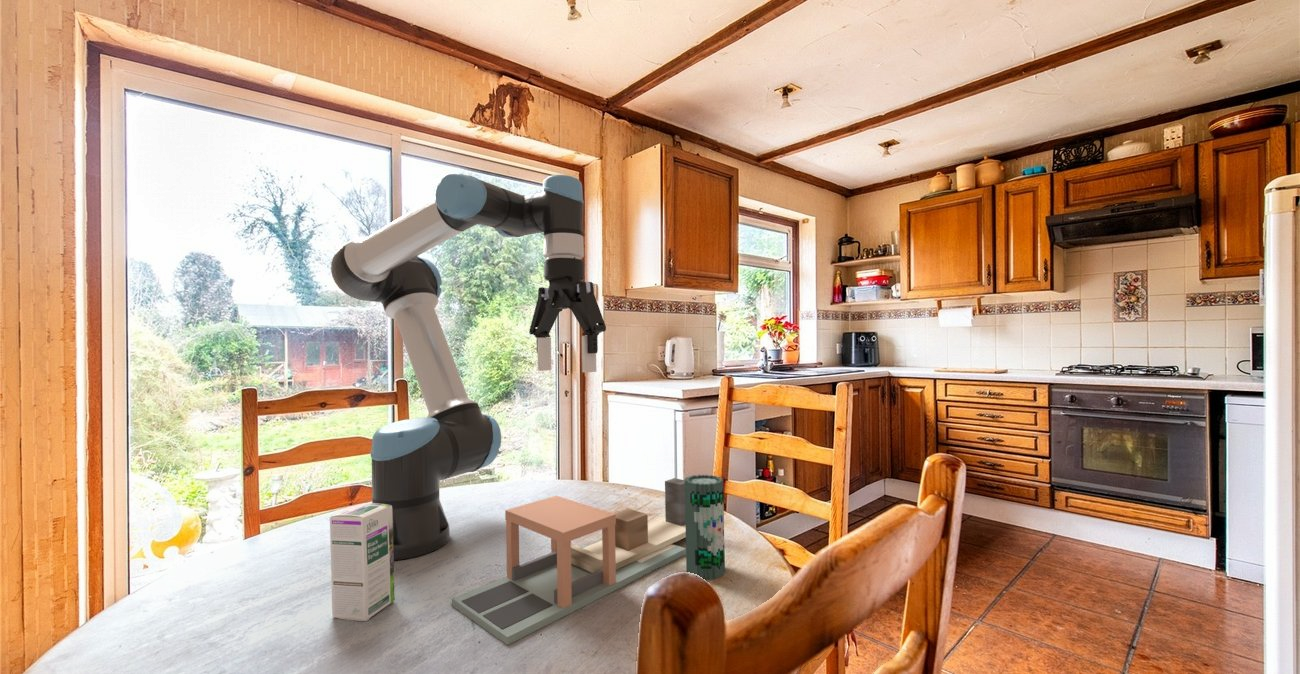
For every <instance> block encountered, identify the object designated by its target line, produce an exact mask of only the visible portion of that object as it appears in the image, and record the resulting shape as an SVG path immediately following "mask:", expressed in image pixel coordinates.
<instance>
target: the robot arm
mask: <svg viewBox="0 0 1300 674" xmlns="http://www.w3.org/2000/svg"><path fill="white" fill-rule="evenodd" d="M440 179H441V180H440V182H439V183H437V185H436V188H435V190H434V191H435V192H434V196H433V197H432V198H431V199H429V200H427V201H426V202H424V203H423V204H420V205H419V206H418V207H415V208H413V209H412V210H411V211H408V212H407V213H406V214H404V215H401V216H400V217H398V218H397V219H395V220H393V221H392V222H390V223H388V224H387V225H385V226H384V227H382V228H380V229H378V230H377V231H375V232H374V233H372V234H370V235H369V236H367V237H355V238H352V239H351V240H350V241H348V242H346V243H344V244H343V245H342V246H341V247H339V248H338V250H336V252H335V254H333V257H332V260H331V265H330V266H331V267H330V271H331V276H332V279H333V281H334V283H335V284H336V286H337V287H338V289H340V290H341V291H342V292H343V293H344V294H346V295H347V296H349V297H351V298H353V299H356V300H359V301H364V302H365V301H367V302H375V303H377V302H378V303H381V304H382V307H383V310H384V312H385V315H386V316H387V318H390V319H393V320H395V321H396V322H395V323H396V324H397V328H398V330H399V333H400V335H401V339H402V341H403V345H404V346H405V349H406V353H407V355H408V358H409V361H410V364H411V366H412V369H413V372H414V376H415V378H416V380H417V381H416V382H417V383H418V386H419V389H420V392H421V395H422V397H423V400H424V402H425V403H424V404H425V406H426V409H427V412H428V413H427V414H428V415H427V416H426V417H415V418H410V419H403V420H398V421H394V422H391V423H388V424H385V425H383V426H381V427H380V428H378V429H377V430H376V431H375V432H374V434H373V435H372V440H371V450H370V457H371V496H372V497H371V498H372V499H371V500H372V502H371V503H380V504H388V505H392V519H393V555H394V561H397V560H399V561H400V560H404V559H405V560H407V559H410V558H415V557H419V556H423V555H425V554H429V553H433V552H434V551H436V550H439V549H441V548H442V547H443V546H445V545H446V544H447V543H448V542H449V540H450V538H451V536H450V524H449V522H448V519H447V516H446V513H445V510H444V508H443V505H442V502H441V500H440V499H441V498H440V481H444V480H447V479H451V478H454V477H457V476H460V475H465V474H467V473H475V472H477V471H478V470H480V469H483V468H486V467H488V466H490V465H491V464H492V463H493V462H494V461H495V459H497V457H498V455H499V451H500V448H501V446H502V445H501V444H502V431H501V428H500V425H499V424H498V422H497V419H495V417H492V416H491V415H489V414H487V413H486V414H484V413H482V410H481V408H480V405H479V403H478V402H477V401H474V400H472V399H470V398H469V397H468V393H467V391H466V388H465V386H464V383H463V381H462V378H461V375H460V372H459V370H458V367H457V365H456V363H455V360H454V357H453V354H452V351H451V349H450V346H449V344H448V342H447V338H446V336H445V333H444V330H443V328H442V325H441V323H440V319H439V317H438V315H437V314H438V313H436V309H435V308H436V307H437V306H438V303H439V298H440V296H441V294H442V290H443V289H442V288H441V286H442V285H443V281H442V280H443V279H442V276H441V274H440V271H439V269H438V267H437V266H436V265H435V264H434V263H433V262H432V261H430V260H429V259H427V258H425V257H420V255H422V254H424V253H425V252H427V251H429V250H431V249H433V248H435V247H437V246H438V245H440V244H442V243H444V242H447V241H448V240H450V239H451V238H454V237H456V236H457V235H459V234H461V233H463V232H465V231H467V230H468V229H471V228H473V227H475V226H478V225H482V226H484V227H485V226H486V227H489V228H493V229H494V230H495V232H497V233H498V234H499V235H500V236H502V237H505V238H512V237H514V238H520V237H524V236H530V235H537V234H540V233H543V257H544V258H545V261H544V262H543V265H544V266H543V270H544V272H543V273H544V274H543V275H544V279H545V280H546V281H548V282H549V283H548V284H549V285H548V287H542V286H540V287H539V288H538V290H537V300H536V304H535V309H534V312H533V316H532V319H531V323H530V328H529V331H528V333H529V334H530V335H533V336H534V337H535V338H536V352H537V371H538V372H540V371H541V372H544V371H552V336H551V335H550V332H551V331H552V329H553V326H554V324H555V322H556V320H557V319H558V316H559V314H560V313H561V312H562V311H563V310H566V309H569V310H571V312H572V314H573V316H574V317H575V318H576V321H577V323H578V324H579V326H580V328H581V330H582V331H583V332H582V336H581V367H582V368H581V371H582V373H595V372H596V373H597V354H598V346H599V345H598V343H599V342H598V336H599V335H600V334H601V333H602V332H606V330H607V327H606V324H605V321H604V318H603V315H602V311H601V309H600V307H599V303H598V301H597V298H596V295H595V290H594V282H592V281H584V279H585V262H584V260H582V259H583V258H584V257H585V253H584V252H585V249H584V248H585V247H584V241H585V240H584V204H585V201H584V196H583V195H584V194H583V192H584V191H583V184H582V181H580V179H578V178H576V177H574V176H572V175H567V174H553V175H549V176H547V177H546V178H544V179H543V181H542V187H541V188H542V191H540V192H536V193H532V194H531V193H530V194H526V195H524V194H520V193H517V192H514V191H511V190H508V189H506V188H503V187H501V186H497V185H495V184H492V183H489V182H487V181H485V180H482V179H480V178H477V177H475V176H472V175H467V174H463V173H460V172H455V171H452V172H449V173H446V174H444V176H442V177H441V178H440Z"/></svg>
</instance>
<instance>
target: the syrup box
mask: <svg viewBox="0 0 1300 674" xmlns="http://www.w3.org/2000/svg"><path fill="white" fill-rule="evenodd" d="M329 531H330V532H329V537H330V538H329V539H330V572H331V575H330V576H331V578H330V579H331V580H330V581H331V610H332V611H331V614H332V617H333V618H335V619H340V620H347V621H358V622H359V621H360V622H367V621H369V620H370V619H371V618H372V617H373V616H375V615H376V614H377V613H379V612H380V611H382V610H383V609H385V608H386V607H387V606H389V605H390V604H392V603H394V601H395V599H396V597H395V596H396V595H395V566H394V565H395V564H394V563H395V560H394V555H393V519H392V505H388V504H380V503H372V502H368V503H359V504H357V505H355V506H353V507H351V508H349V509H346V510H344V511H342V512H339V513H337V514H334V515H331V516H330V517H329Z"/></svg>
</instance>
